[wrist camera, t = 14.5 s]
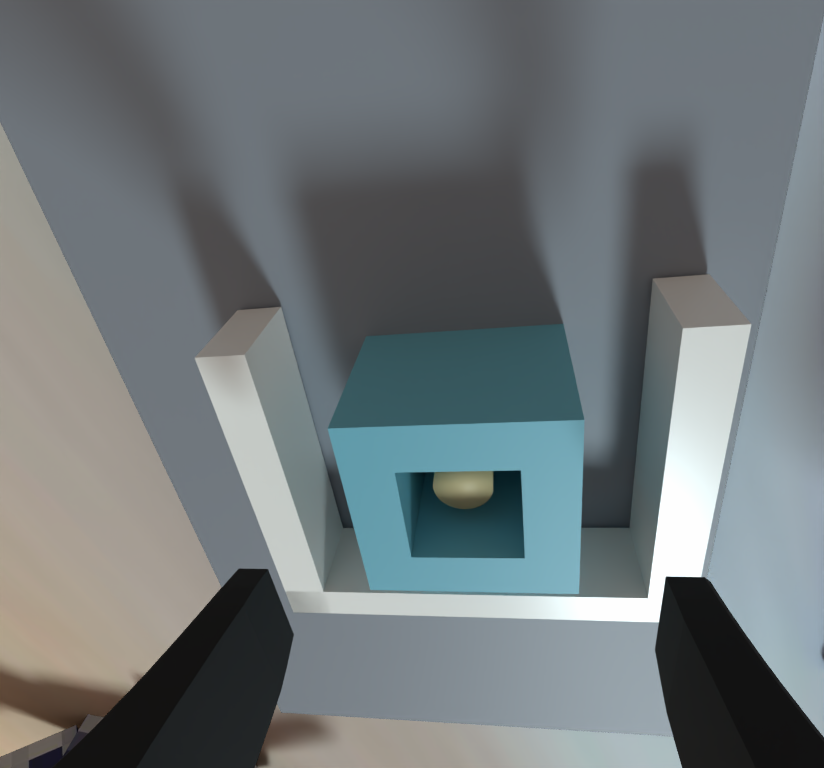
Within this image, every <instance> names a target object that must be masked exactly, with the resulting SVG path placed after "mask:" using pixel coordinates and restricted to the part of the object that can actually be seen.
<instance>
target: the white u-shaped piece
mask: <svg viewBox="0 0 824 768" xmlns="http://www.w3.org/2000/svg"><path fill="white" fill-rule="evenodd" d="M750 329H751V323H750V322H749V321H748V319H747V318H746V317H745V316H744V315H743V314H742V312H741V311H740V310H739V309H738V308H737V306H736V305H735V304H734V303H733V302H732V300H731V299H730V298H729V297H728V296H727V295H726V293H725V292H724V291H723V290H722V289H721V287H720V286H719V285H718V284H717V283H716V281H715V280H714V279H713V278H712V277H711V276H710V274H706V275H693V276H680V277H667V278H654V279H653V281H652V292H651V302H650V313H649V324H648V334H647V345H646V356H645V367H644V377H643V388H642V399H641V409H640V420H639V431H638V442H637V452H636V463H635V474H634V484H633V495H632V506H631V517H630V527H629V528H581V549H580V581H579V594H547V593H497V592H446V591H396V590H370V587H369V583H368V579H367V575H366V572H365V568H364V564H363V560H362V556H361V553H360V549H359V545H358V541H357V538H356V534H355V530H354V528H343V526H342V522H341V519H340V515H339V512H338V508H337V505H336V501H335V497H334V494H333V490H332V487H331V483H330V480H329V476H328V472H327V469H326V465H325V462H324V458H323V455H322V451H321V447H320V444H319V440H318V437H317V433H316V430H315V426H314V423H313V419H312V415H311V412H310V408H309V405H308V401H307V398H306V394H305V390H304V387H303V383H302V380H301V376H300V373H299V369H298V366H297V362H296V358H295V355H294V351H293V348H292V344H291V341H290V337H289V333H288V330H287V326H286V323H285V319H284V316H283V312H282V308H281V307H272V308H259V309H246V310H237V311H236V312H235V314H234V315H233V316H232V317H231V318H230V319H229V320H228V321H227V322H226V324H225V325H224V326H223V327H222V328H221V329H220V330H219V331H218V332H217V334H216V335H215V336H214V337H213V338H212V339H211V340H210V341H209V342H208V344H207V345H206V346H205V347H204V348H203V349H202V350H201V351H200V352H199V353H198V355H197V356H196V357H195V360H196V363H197V366H198V368H199V371H200V373H201V376H202V378H203V381H204V384H205V386H206V389H207V391H208V394H209V396H210V399H211V402H212V404H213V407H214V409H215V412H216V414H217V417H218V420H219V422H220V425H221V427H222V430H223V432H224V435H225V438H226V440H227V443H228V445H229V448H230V451H231V453H232V456H233V458H234V461H235V463H236V466H237V469H238V471H239V474H240V476H241V479H242V481H243V484H244V487H245V489H246V492H247V494H248V497H249V499H250V502H251V505H252V507H253V510H254V512H255V515H256V517H257V520H258V523H259V525H260V528H261V530H262V533H263V536H264V538H265V541H266V543H267V546H268V548H269V551H270V554H271V556H272V559H273V561H274V564H275V566H276V569H277V572H278V574H279V577H280V579H281V582H282V584H283V587H284V590H285V592H286V595H287V597H288V600H289V602H290V605H291V608H292V610H293V612H299V613H336V614H372V615H409V616H446V617H482V618H519V619H555V620H592V621H629V622H659V618H660V611H661V605H662V598H663V591H664V584H665V577H666V576H671V577H701V575H702V570H703V565H704V560H705V555H706V550H707V545H708V540H709V535H710V530H711V525H712V520H713V515H714V510H715V505H716V500H717V495H718V490H719V485H720V480H721V475H722V470H723V465H724V460H725V455H726V450H727V445H728V440H729V435H730V429H731V424H732V419H733V414H734V409H735V404H736V399H737V394H738V389H739V384H740V379H741V374H742V369H743V364H744V359H745V354H746V349H747V344H748V339H749V334H750Z"/></svg>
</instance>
